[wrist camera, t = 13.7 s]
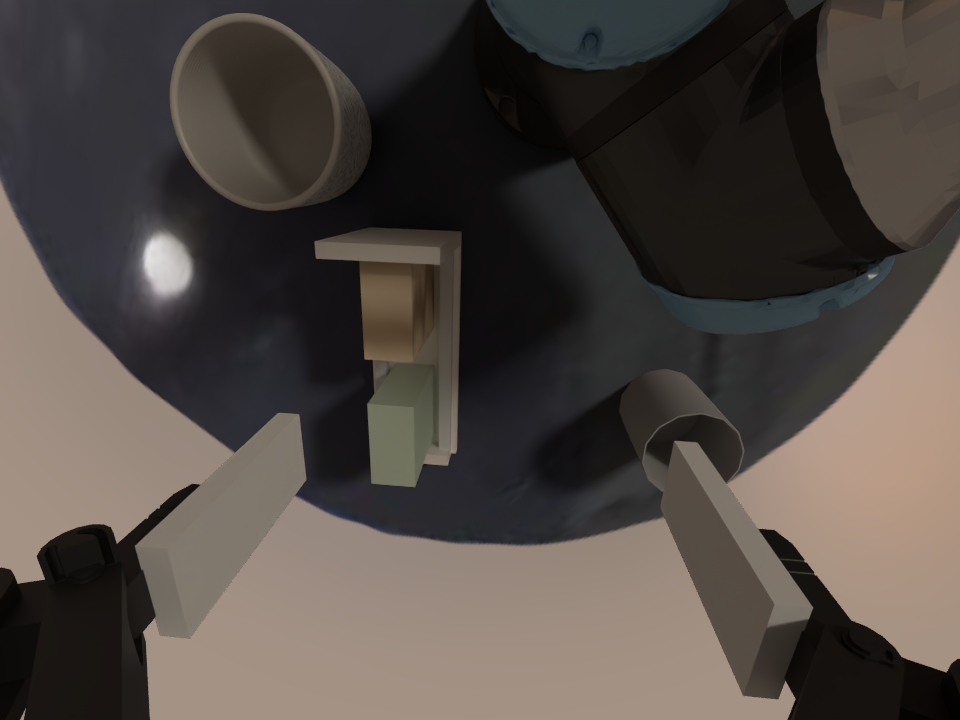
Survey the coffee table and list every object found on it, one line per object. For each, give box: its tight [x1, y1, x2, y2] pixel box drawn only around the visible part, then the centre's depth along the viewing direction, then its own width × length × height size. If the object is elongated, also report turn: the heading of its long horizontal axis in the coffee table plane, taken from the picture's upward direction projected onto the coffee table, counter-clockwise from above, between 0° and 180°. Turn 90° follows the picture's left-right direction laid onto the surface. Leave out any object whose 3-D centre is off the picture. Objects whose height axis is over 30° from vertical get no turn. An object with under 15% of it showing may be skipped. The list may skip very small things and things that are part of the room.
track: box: [315, 227, 462, 466], centre depth 43 cm, size 24×9×13 cm, turn 178°
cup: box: [619, 369, 744, 492], centre depth 45 cm, size 8×8×10 cm
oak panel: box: [359, 261, 434, 362], centre depth 41 cm, size 8×4×10 cm, turn 178°
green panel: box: [367, 363, 434, 487], centre depth 45 cm, size 8×4×10 cm, turn 178°
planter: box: [170, 13, 372, 211], centre depth 38 cm, size 12×12×11 cm
